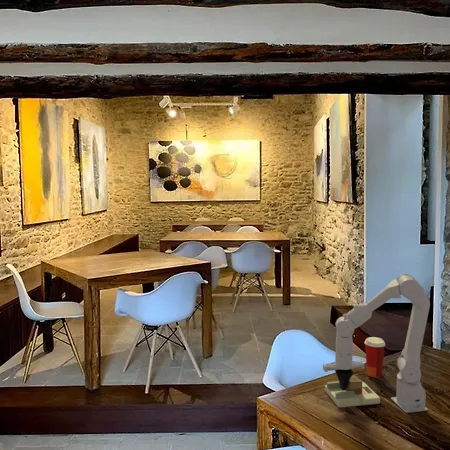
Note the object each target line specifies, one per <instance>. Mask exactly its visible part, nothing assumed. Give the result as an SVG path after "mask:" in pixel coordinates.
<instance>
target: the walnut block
mask: <svg viewBox="0 0 450 450" xmlns="http://www.w3.org/2000/svg"><path fill="white" fill-rule="evenodd" d="M362 382H363V380H362V379H361V378H360V377H359V376H358V375H354V376H351V378H350V380H349V382H348V385H347V388H346V391H354V392H355V394H362Z"/></svg>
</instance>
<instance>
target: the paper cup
mask: <svg viewBox="0 0 450 450" xmlns="http://www.w3.org/2000/svg"><path fill="white" fill-rule="evenodd" d="M363 343H364V344H365V364H366V366H365V367H366V369H365V370H366V375H367V376H368V377H371V378H375V379H376V378H378V379H379V378H381V377H382V375H383V368H384V355H385V347H386V343H385V341H384V340H383V338H380V337H376V336H371V337H370V336H369V337H366V339H365V341H364V342H363Z"/></svg>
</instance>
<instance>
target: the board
mask: <svg viewBox="0 0 450 450" xmlns="http://www.w3.org/2000/svg"><path fill="white" fill-rule="evenodd" d="M324 392H325V393H326V394H327V395H328V397H329V398H330V399H331V400H332V402H334V404H335V405H336V406H337V408H349V407H356V406H357V407H358V406H368V405H376V404H377V405H378V404H380V403H381V397H380V396H379V395H378V394H377V393H376V392H375V391H374V390H373V389H371V388H370V387H369V386H368V385H367V384H366V383H365V382H364V381H362V394H355V392H354V391H346V390H344V391H343V390H342V389H341V388H340V383H339V380H338V381H337V380H336V381H328V382H326V385H324Z"/></svg>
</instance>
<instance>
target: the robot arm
mask: <svg viewBox="0 0 450 450" xmlns="http://www.w3.org/2000/svg"><path fill="white" fill-rule="evenodd" d="M402 296H403V297H404V298H405V299H407V300H409V301H410V303H411V304H412V308H411V312H410V318H409V324H408V329H407V333H406V339H405V343H404V348H403V349H402V351H401V353H400V356H399V357H398V358H397V360H396V366H397V368H398V369H399V371H398V373H397V375H396V394H395V395H396V396H393V397H390V400H392V402H394V403H395V404H396V405H397V406H398V407H399V408H400V409H401V410H403V412H404V413H407V414H408V413H415V412H425V411H428V409H429V408H427V407H426V397H427V394H426V393H427V392H426V390H425V388H424V387H423V386H422V384H421V378H422V372H421V351H422V347H423V346H422V345H423V341H424V337H425V336H424V335H425V331H426V328H427V327H426V326H427V322H428V315H429V312H430V308H431V307H430V306H431V302H430V300H429V298H428V296H427V294H426V292H425V289H424V287H423V286H422V285H421V284H420V283H419V281H418V280H416V278H415V277H413V276H412V275H411V274H408V273H402V274H400V275H398V277H397V278H394V279H393V280H391V281H390V282H389V283H388V284H387V285H386V286H385V287H383V288H382V289H381V290H380V291H379V292H378V293H377V294H375V295H374V296H373V297H372V298H371V299H369V300H368V301H367V302H366V303H364V302H359V303H358V304H357V303H356V304H354V305H353V308H352V309H351V310H349V311H348V312H346V313H344V314H342V316H340V317H338V318H337V319H336V321H335V330H336V334H335V335H336V336H335V337H336V338H335V355H334V356H335V357H334V358H335V361H332V362H328V363H324V364H322V370H323V371H324V372H325V373H326V372H331V371H334V372H335V374H336V376H337V379H338V381H339V383H340V388H341V389H342V390H343V391H344V390H346V388H347V385H348V382H349V380H350V378H351V376H352V375H354V371H353V370H355V369H361V370H363V369H365V363H364V362H363V361H360V360H359V361H357V360H356V361H355V360H353V353H354V352H353V349H354V348H353V347H354V346H353V345H354V344H353V334H354V332H355V329H357V328H359V327H360V326H361V325H363V324H364V323H365V322H367V321H368V320H369V319H371V318H372V316H373V315H372V314H373V312H374V311H375V310H376V309H378V308H380V307H381V306H383V305H384V304H385V303H386V302H388V301H390V300H391V299H402Z"/></svg>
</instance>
